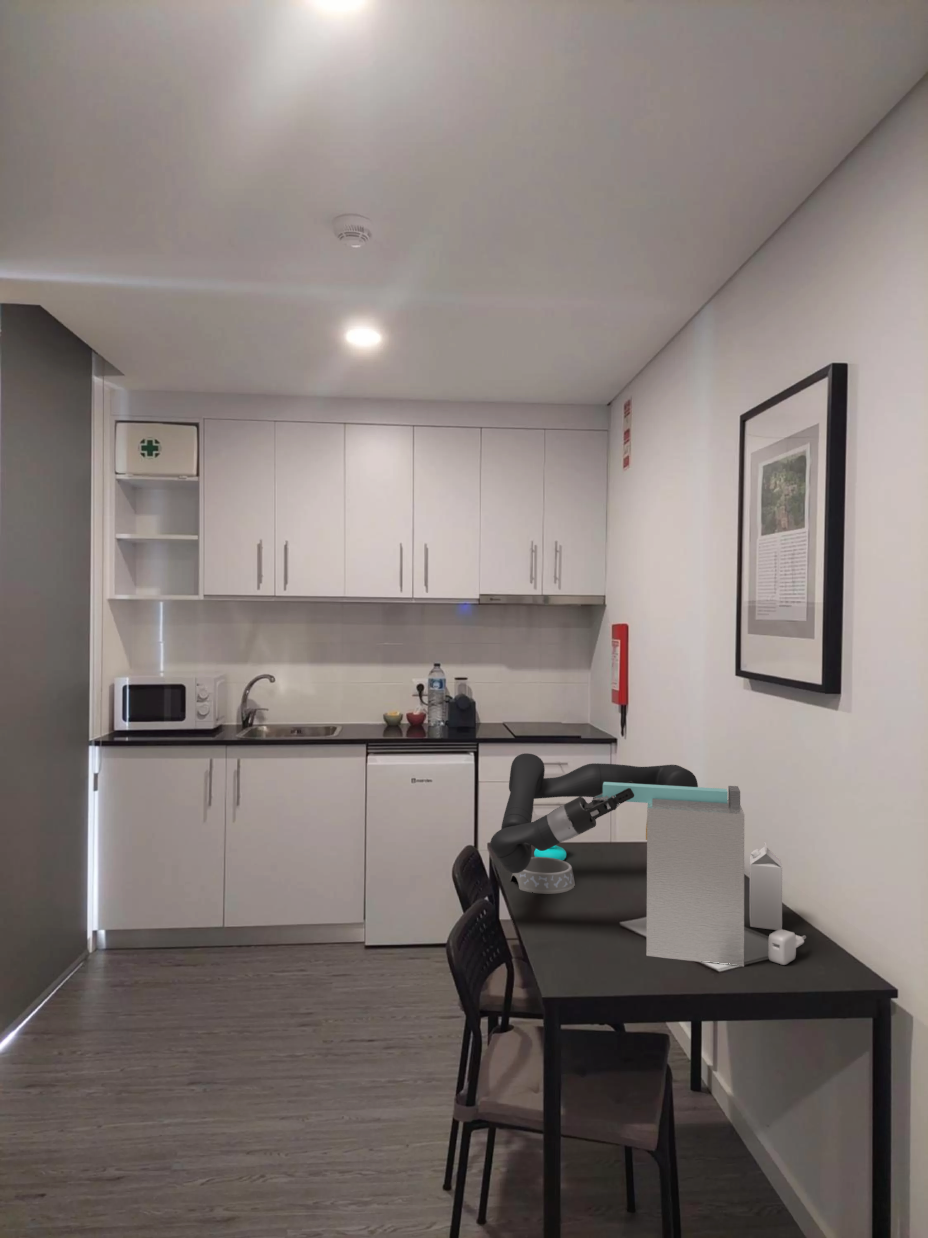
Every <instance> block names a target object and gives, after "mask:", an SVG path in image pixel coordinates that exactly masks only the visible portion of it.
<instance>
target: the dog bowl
mask: <svg viewBox="0 0 928 1238" xmlns="http://www.w3.org/2000/svg"><path fill="white" fill-rule="evenodd" d="M573 871H574V870H573V867H572V864H570V863H569V862H567V861H565V860H559V859H555V858H548V857H535V856H531V860H530V863H529V865H528V866H527V867H526V869H524V870H523V871H522V872H519V873H511V877H510V880H509V881H510V882H511V881H512V879H513V877H514V878H515V879H516V881H517V884H518V889H519V890H520V891H524V892H527V893H532V892H533V894H534V893H535V894H545V895H547V894H548V895H549V894H552V895H553V894H560V893H561V894H562V893H565V892H569V891H571V890H572V889H574V888H575V887H576V882H575V878H574V872H573ZM574 886H575V887H574Z"/></svg>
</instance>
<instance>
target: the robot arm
mask: <svg viewBox="0 0 928 1238" xmlns="http://www.w3.org/2000/svg"><path fill="white" fill-rule="evenodd" d="M545 769H546V768H545V764H544V761H543V760H542V758H541V757H539V756H537V755H536V754H534V753H533V754H532V753H521V754H518V755H517V756H516V757H515V758H514V759H513V761H512V763H511V766H510V772H509V782H508V790H509V796H508V800H507V804H506V807H505V811H504V814H503V818H502V821H501V828H500V830H498V831H496V832H495V833H493V835H492V837H491V839H490V841H489V844H490V845H489V847H490V848H491V851H492V852H493V854H494V855H495V856H496V858H497V860H499V862H500V863H501V865H502V866H503V867H504V869H505V870H506V871H508V872H509V873H511V874H512V873H519V872H522V871H523V870H524V869H526V867H527V866H528V865H529V863H530V860H531V857H533V854H532V847H533V848H535V849H538V850H540V851H544V850H547V849H549V848H551V847H553V846H555V845H556V846H558V845H559V844H560V843H563V842H565V841H569V840H571V839H574V838H575V837H577V836H580V835H581V834H583V833H586V832H587V831H589V830H592V829H593V828H595V827H597V826H596V825H597V821H596V820H597V819H599V818H600V817H602V816H604V815H606V814H609V813H610V812H613V811H616V809H618V807H620V805H621V804H623V803H625V801H627V800H629V799H631V798H633V797H634V793H633V791H632V790H631V788H627V789H625V790H623V791H621V792H620V793H618V794H616V795H612V796H610V797H608V796H603V783H604V782H615V783H633V784H650V785H668V786H685V787H699V784H698V780H697V777H696V776H695V775H696V774H694V773H693V772H692V771H690V770H689V769H687V768H685V767H683V766H681V765H679V764H678V765H677V764H665V765H664V764H663V765H662V764H661V765H652V766H635V765H627V764H616V763H615V764H614V763H599V762H598V763H587V764H584V765H582V766H580V767H578V768H577V767H576V768H575V769H573V770H572V771H569V772H567V773H566V774H564V775H561V776H557V777H556V776H555V777H545V771H546V770H545ZM615 796H616V797H615ZM562 797H563V798H565V797H567V798H571V797H572V798H573V797H576V798H574V799H572V800H570V801H568V802H566V803H564V804H563V805H561V806H559V807H557V808H555V809H554V810H552V811H551V812H549V813H547V814H545V815H543V816H542V817H539V818H538V819H536V820H534V821H533V815H534V814H533V812H534V802H535V800H536V799H537V800H538V799H550V798H562ZM586 798H592V799H591V801H590V802H587V801H586Z"/></svg>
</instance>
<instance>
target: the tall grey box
mask: <svg viewBox="0 0 928 1238" xmlns="http://www.w3.org/2000/svg"><path fill="white" fill-rule="evenodd" d="M727 788H728V790H727V792H728V802H727V803H721V802H705V801H688V800H672V799H656V798H652V803H647V806H646V807H647V808H646V809H647V813H646V816H647V817H646V825H645V840H646V953H645V954H646V957H655V958H663V959H671V960H672V959H673V960H679V961H680V960H681V961H688V962H697V963H699V962H700V963H702V962H701V961H710V962H719V963H728V964H729V963H730V964H737V965H739V966H738V967H745V812H744V809H743V808H742V804H741V789H740V788H739V785H737V786H736V785H728V787H727Z"/></svg>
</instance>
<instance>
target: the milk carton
mask: <svg viewBox="0 0 928 1238" xmlns="http://www.w3.org/2000/svg"><path fill="white" fill-rule="evenodd" d="M782 865H783V864H782V861H781V859H780V858H779V857H778V856H777V855H776V853H775V854H774V852H772V851H771V850H770V849H769V848H768V847H767V843H766V841H764V846H763V847H761V848H760V849H759V848H755V849H754V850H752V851H751V852H750V856H749V927H751V928H756V929H757V928H758V929H763V930H765V929H766V930H774V931H777V930H779V929H783V866H782Z"/></svg>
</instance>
